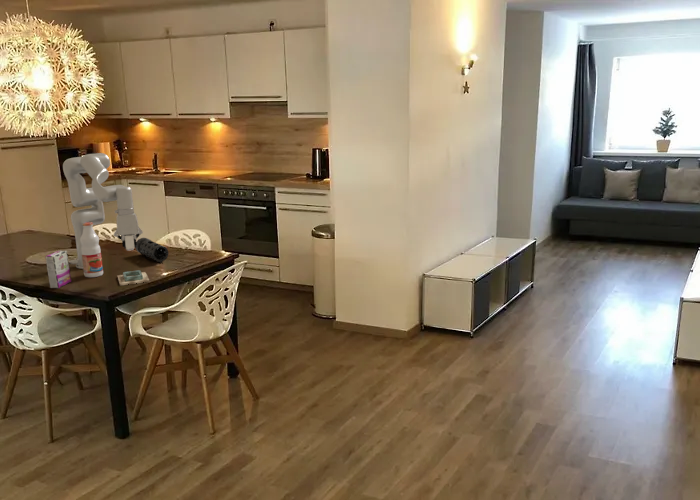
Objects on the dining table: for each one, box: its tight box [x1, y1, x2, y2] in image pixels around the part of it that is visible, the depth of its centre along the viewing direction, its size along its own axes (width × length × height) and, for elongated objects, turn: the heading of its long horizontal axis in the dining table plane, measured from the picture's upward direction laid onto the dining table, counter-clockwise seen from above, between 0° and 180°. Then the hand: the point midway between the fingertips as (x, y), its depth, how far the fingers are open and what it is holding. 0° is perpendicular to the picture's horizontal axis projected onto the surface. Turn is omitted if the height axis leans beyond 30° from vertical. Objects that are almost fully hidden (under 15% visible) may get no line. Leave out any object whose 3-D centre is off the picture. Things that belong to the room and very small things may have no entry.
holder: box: [116, 269, 150, 287], centre depth 325 cm, size 14×16×3 cm
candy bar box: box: [45, 250, 72, 289], centre depth 317 cm, size 11×5×16 cm, turn 170°
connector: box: [124, 234, 136, 252], centre depth 321 cm, size 4×6×8 cm, turn 24°
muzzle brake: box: [135, 237, 170, 264], centre depth 365 cm, size 10×28×10 cm, turn 39°
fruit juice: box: [80, 222, 104, 278], centre depth 332 cm, size 9×9×28 cm
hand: (129, 247), depth 322 cm, fingers closed on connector, 4 cm apart
